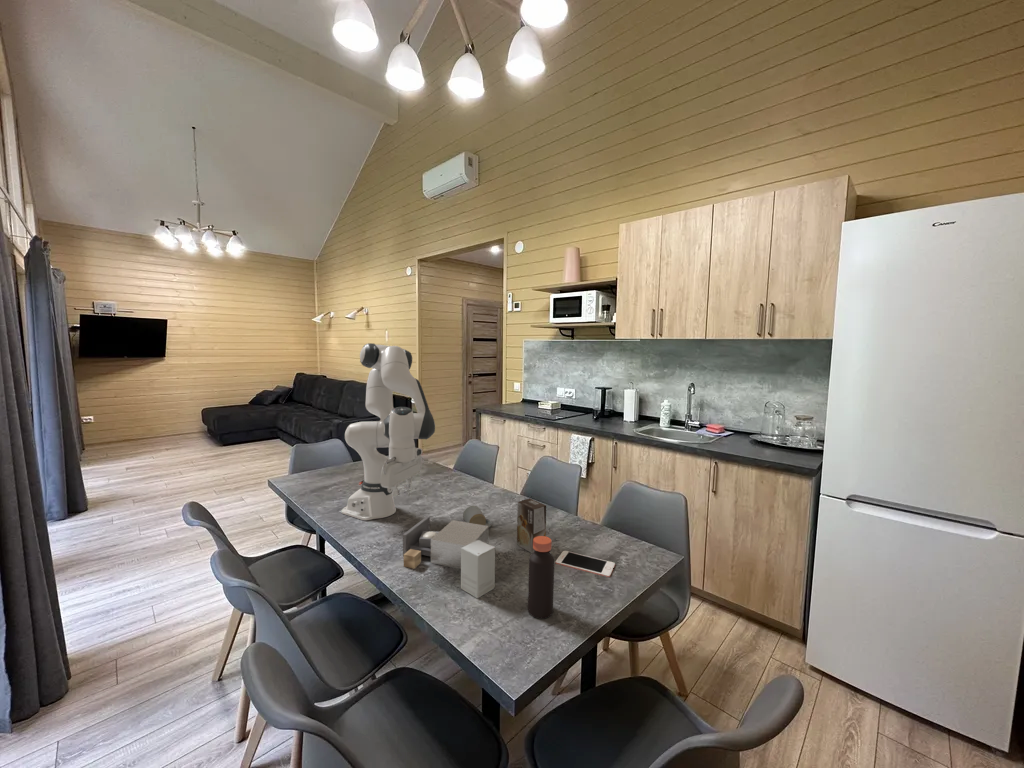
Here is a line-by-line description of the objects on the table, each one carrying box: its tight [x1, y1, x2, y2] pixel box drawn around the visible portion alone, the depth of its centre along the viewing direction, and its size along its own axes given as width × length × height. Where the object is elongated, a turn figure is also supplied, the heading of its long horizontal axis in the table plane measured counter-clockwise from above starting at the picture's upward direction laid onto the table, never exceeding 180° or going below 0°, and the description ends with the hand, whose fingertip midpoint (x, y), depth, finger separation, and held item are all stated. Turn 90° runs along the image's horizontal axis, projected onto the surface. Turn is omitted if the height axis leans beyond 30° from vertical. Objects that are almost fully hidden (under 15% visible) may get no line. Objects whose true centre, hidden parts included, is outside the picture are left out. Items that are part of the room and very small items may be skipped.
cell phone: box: [555, 550, 616, 578], centre depth 137 cm, size 9×18×1 cm, turn 64°
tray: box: [402, 515, 431, 558], centre depth 144 cm, size 15×16×8 cm
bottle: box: [527, 535, 556, 619], centre depth 111 cm, size 7×7×20 cm
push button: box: [419, 530, 440, 548], centre depth 144 cm, size 6×6×3 cm
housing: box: [430, 519, 490, 570], centre depth 140 cm, size 14×16×8 cm
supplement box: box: [460, 540, 496, 599], centre depth 121 cm, size 7×7×13 cm
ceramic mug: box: [462, 505, 492, 528], centre depth 162 cm, size 11×8×8 cm
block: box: [403, 549, 422, 569], centre depth 134 cm, size 4×4×4 cm
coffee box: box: [516, 498, 547, 554], centre depth 147 cm, size 9×6×16 cm
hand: (402, 492), depth 146 cm, fingers open, 5 cm apart
